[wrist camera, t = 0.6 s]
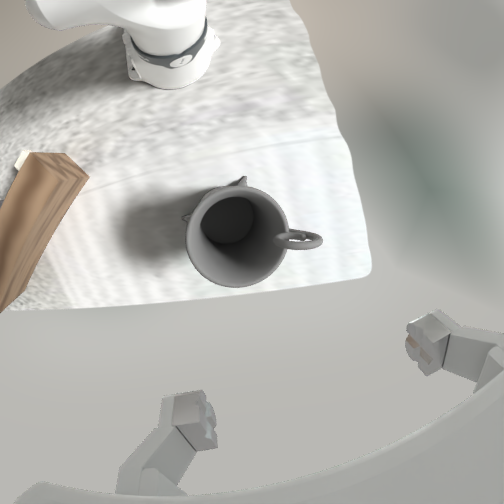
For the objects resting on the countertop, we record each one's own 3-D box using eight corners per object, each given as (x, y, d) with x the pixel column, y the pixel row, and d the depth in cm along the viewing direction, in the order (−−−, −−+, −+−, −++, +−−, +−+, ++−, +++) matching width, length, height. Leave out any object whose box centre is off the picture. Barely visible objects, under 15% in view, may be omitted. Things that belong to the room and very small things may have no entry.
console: (3, 269, 48) (-29, 292, 35) (64, 153, 45) (29, 152, 32) (24, 290, 51) (-5, 318, 38) (89, 176, 48) (58, 181, 35)
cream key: (22, 165, 39) (14, 165, 36) (30, 150, 39) (22, 150, 36) (37, 181, 41) (29, 182, 38) (46, 166, 40) (39, 166, 38)
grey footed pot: (184, 254, 56) (177, 317, 33) (179, 179, 52) (162, 190, 28) (277, 247, 59) (327, 301, 36) (276, 175, 55) (332, 183, 31)
